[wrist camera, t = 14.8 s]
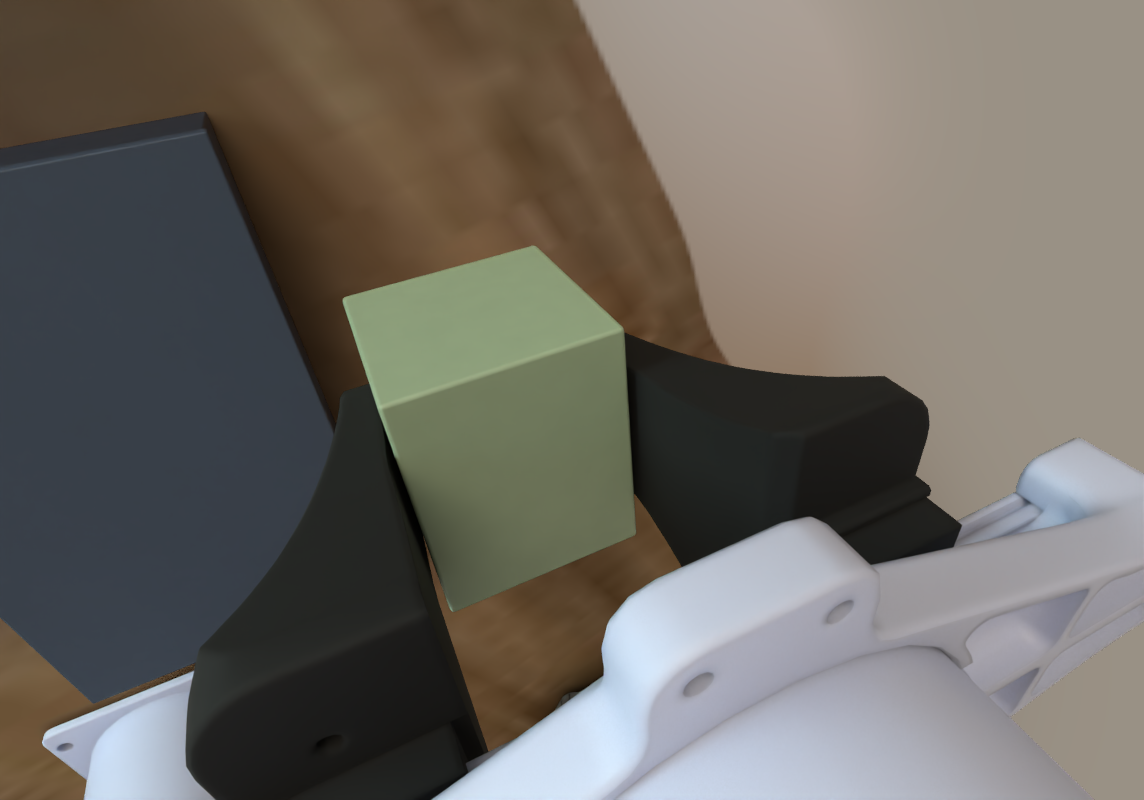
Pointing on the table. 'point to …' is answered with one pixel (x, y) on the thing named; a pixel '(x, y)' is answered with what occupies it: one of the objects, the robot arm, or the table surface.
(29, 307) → the storage box
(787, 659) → the robot arm
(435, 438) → the sage box
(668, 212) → the table surface
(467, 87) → the table surface
